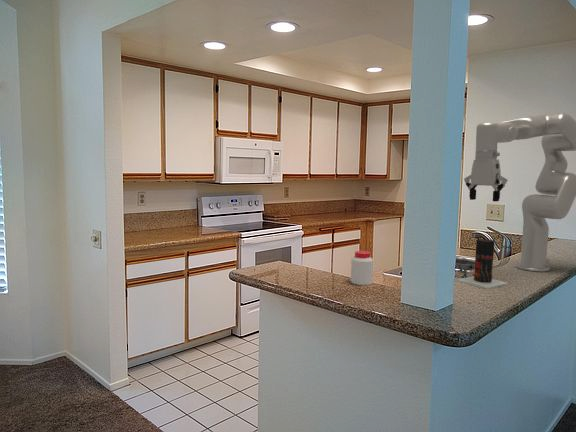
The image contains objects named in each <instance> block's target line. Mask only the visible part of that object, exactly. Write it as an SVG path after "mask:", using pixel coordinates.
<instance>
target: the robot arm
mask: <svg viewBox="0 0 576 432" xmlns="http://www.w3.org/2000/svg"><path fill="white" fill-rule="evenodd" d="M475 135H476V136H475V158H474V159H473V162H472V166H471V170H470V171H471V172H470V173H471V174H469V175H468V176H466V177H465V178H463V180H464V182H465V186H466V187H467V189H468V190H469V195H468V196H469V200H470V201H471V200H472V201H473V200H476V199H477V189H476V188H477V187H478V186H487V187H488V186H489V187H490V186H491V187H492V188H493V191H492V202H499V201H500V198H501V191H502V189H504V188H505V186H506V184H507V182H508V178H506V177H505V176H502V172H501V165H500V159H497V158H498V157H499V156H500V155H501V153H500V152H498V143H499V144H501V143H505V144H506V143H510V142H512V141H516V140H517V141H519V140H528V139H533V138H538V137H542V138H541V147H542V150H543V153H544V158H545V161H544V163H543V164H544V165H543V166H542V169H541V171H540V173H539V176H538V178H537V179H536V182H535V187H534V188H535V191H536V192H537V193H539V194H537V193H536V194H529V195H527V196H525V197H524V198H523V200H522V203H521V209H522V211H521V212H522V218H523V219H522V220H523V221H522V222H523V225H522V226H523V227H522V235H521V236H522V237H521V250H520V260H519V261H520V262H517V263H516V264H515V267H516V268H517V269H520V270H524V271H530V272H549V271H550V268H551V267H550V266H548V265H547V264H548V263H550V262H551V260H550V258H548V257H547V254H548V243H549V232H550V229H549V228H550V227H549V224H548V222H547V220H546V219H551V220H562V219H564V218H566V216H567V215H568V214H569V212H570V210H571V208H572V205H573V204H574V201H575V199H576V174H575V173H572V172H567V169H568V166H569V165H568V161H567V159H566V157H565V155H564V154H563V152H575V151H576V119H574V117H573V116H571V115H570V114H569V113H566V112H557V113H556V112H555V113H546V114H540V115H534V116H533V115H532V116H527V117H521V118H515V119H513V120H511V119H510V120H507V121H505V120H504V121H500V122H483V123H482V122H481V123H478V124H477V126H476V133H475Z"/></svg>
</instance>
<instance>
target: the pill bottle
mask: <svg viewBox="0 0 576 432" xmlns="http://www.w3.org/2000/svg"><path fill="white" fill-rule="evenodd" d="M373 270H374V259H373V258H372V257H371V252H370V251H368V250H367V251H366V250H357V251H354V256H353V257H352V258H351V267H350V283H352V284H353V285H360V286H368V285H372V284H373V275H374V274H373V273H374V271H373Z"/></svg>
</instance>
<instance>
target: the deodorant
mask: <svg viewBox="0 0 576 432" xmlns="http://www.w3.org/2000/svg"><path fill="white" fill-rule="evenodd" d="M475 245H476V246H475V257H474V260H475V269H474V272H473V274H474V276H473V277H474V280H475V281H477V282H483V283H490V282H492V279H493V270H494V269H493V265H494V252H495V240H492V239H488V238H477V239H476V243H475Z"/></svg>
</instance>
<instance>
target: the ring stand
mask: <svg viewBox="0 0 576 432" xmlns="http://www.w3.org/2000/svg"><path fill="white" fill-rule="evenodd" d="M455 259H456V266H455V267H454V268H455V269H459V270H457V272H458V273H461V274H463V275H461V279H462V278H468V277H469V276H468V274H467V273H468V270H475V261H473V260H471V259H457V258H455ZM472 277H474V273H472Z"/></svg>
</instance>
